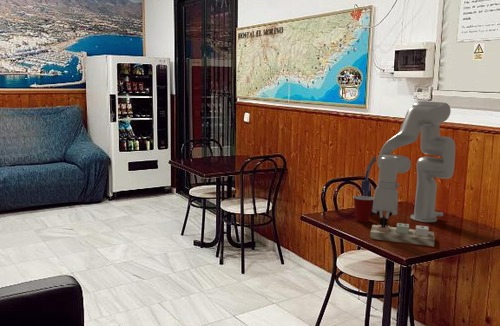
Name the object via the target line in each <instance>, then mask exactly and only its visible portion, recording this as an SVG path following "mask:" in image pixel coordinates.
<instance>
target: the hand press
mask: <svg viewBox="0 0 500 326" xmlns="http://www.w3.org/2000/svg"><path fill="white" fill-rule="evenodd" d="M376 161H377V156H373V157H372V158H371V160H370V161H369V163H368V165H367V168H366V171H365V177H364V180H361V186H360V187H361V188H360V190H361V191H362V196H368V197H372V184H371V181H370V180H369V175H370V172H371V169H372V167H373V164H375V162H376ZM372 209H373V206H372ZM371 214H375V213H374V212H372V210H371Z"/></svg>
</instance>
